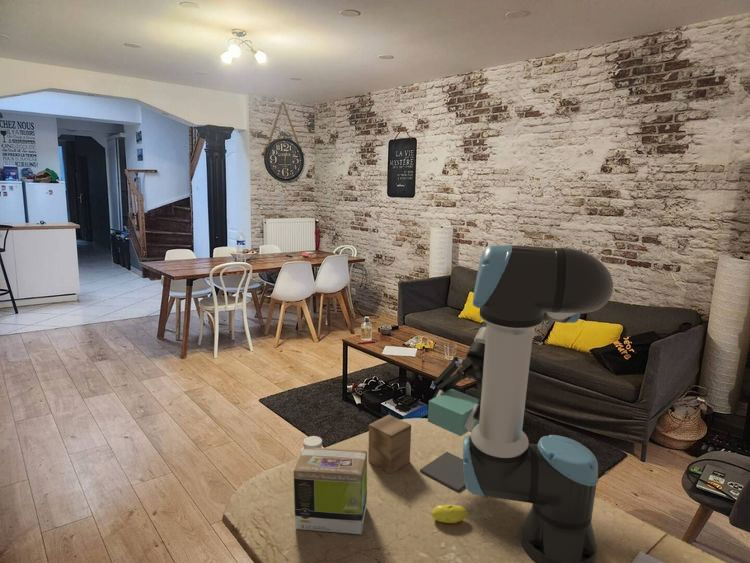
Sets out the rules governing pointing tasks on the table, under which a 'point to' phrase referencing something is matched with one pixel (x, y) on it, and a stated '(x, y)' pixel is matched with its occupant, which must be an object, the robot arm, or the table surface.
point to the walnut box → (389, 443)
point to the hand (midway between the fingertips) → (448, 421)
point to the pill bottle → (312, 442)
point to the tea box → (330, 490)
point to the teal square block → (451, 411)
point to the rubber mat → (446, 471)
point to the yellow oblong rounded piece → (449, 513)
